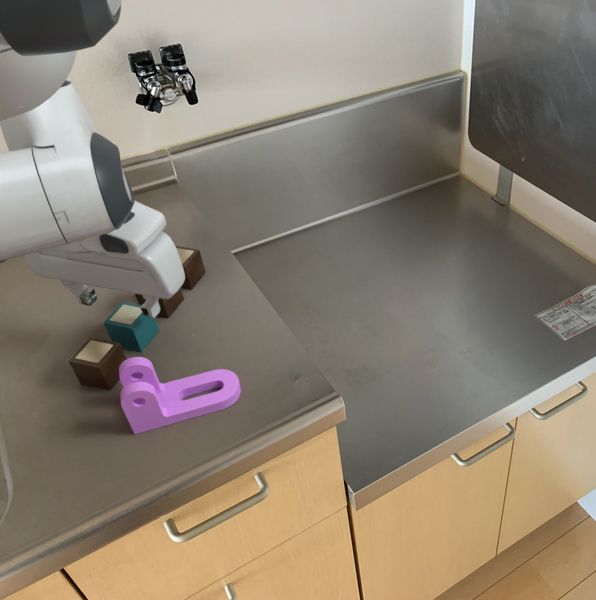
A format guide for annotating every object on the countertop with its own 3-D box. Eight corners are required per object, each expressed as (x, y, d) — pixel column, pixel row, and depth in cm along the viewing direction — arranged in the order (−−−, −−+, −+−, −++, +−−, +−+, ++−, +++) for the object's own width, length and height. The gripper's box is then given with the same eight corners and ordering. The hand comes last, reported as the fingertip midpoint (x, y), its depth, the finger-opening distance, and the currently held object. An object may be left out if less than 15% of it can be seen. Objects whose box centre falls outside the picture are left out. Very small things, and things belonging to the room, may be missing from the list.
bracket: (134, 434, 72) (116, 396, 68) (132, 399, 76) (115, 361, 72) (244, 403, 76) (234, 364, 71) (236, 371, 80) (226, 333, 75)
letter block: (141, 352, 82) (132, 328, 79) (113, 346, 83) (102, 322, 80) (159, 330, 86) (150, 306, 83) (131, 324, 86) (122, 300, 83)
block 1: (110, 391, 77) (98, 367, 74) (80, 384, 78) (67, 360, 75) (130, 366, 80) (120, 342, 77) (101, 360, 81) (89, 336, 78)
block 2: (168, 318, 87) (160, 294, 84) (141, 313, 88) (132, 289, 85) (184, 298, 91) (177, 275, 88) (158, 293, 91) (149, 270, 88)
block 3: (191, 290, 92) (184, 266, 89) (165, 285, 93) (157, 261, 90) (205, 272, 95) (199, 249, 92) (180, 267, 96) (173, 244, 93)
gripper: (-11, 220, 71) (36, 310, 80) (147, 246, 67) (177, 337, 76) (27, 193, 75) (67, 281, 84) (176, 216, 71) (201, 305, 80)
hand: (120, 308), depth 80 cm, fingers open, 8 cm apart
